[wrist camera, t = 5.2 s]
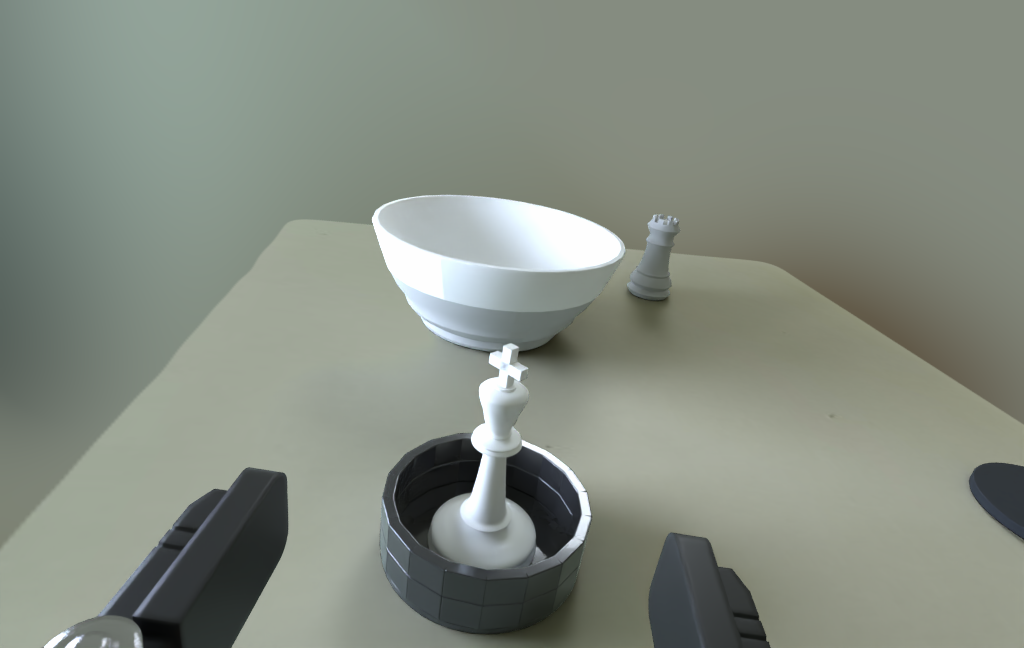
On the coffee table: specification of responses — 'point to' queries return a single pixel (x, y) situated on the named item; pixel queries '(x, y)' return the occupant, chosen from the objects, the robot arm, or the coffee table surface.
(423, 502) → the round container
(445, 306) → the bowl
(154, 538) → the coffee table surface
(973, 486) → the coaster
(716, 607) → the robot arm
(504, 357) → the chess piece
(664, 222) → the rook chess piece
